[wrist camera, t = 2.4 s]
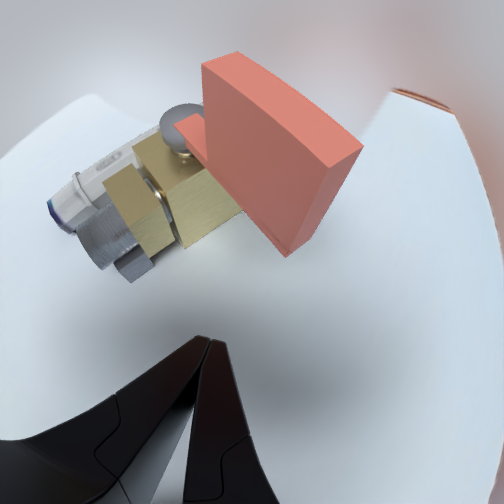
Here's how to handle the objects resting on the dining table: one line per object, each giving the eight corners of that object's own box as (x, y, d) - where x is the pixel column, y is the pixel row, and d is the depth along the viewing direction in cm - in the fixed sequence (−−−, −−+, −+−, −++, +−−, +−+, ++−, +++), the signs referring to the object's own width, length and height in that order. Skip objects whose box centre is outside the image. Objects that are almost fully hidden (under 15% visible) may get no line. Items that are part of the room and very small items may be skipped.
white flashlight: (40, 186, 21) (266, 50, 24) (76, 215, 27) (266, 94, 31) (53, 229, 19) (301, 74, 23) (92, 253, 26) (296, 120, 29)
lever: (153, 130, 16) (132, 33, 10) (194, 109, 17) (188, 14, 11) (272, 269, 13) (310, 180, 7) (318, 233, 14) (376, 138, 8)
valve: (124, 291, 22) (71, 247, 13) (100, 248, 23) (48, 191, 14) (278, 187, 26) (297, 112, 18) (246, 155, 28) (253, 79, 19)
